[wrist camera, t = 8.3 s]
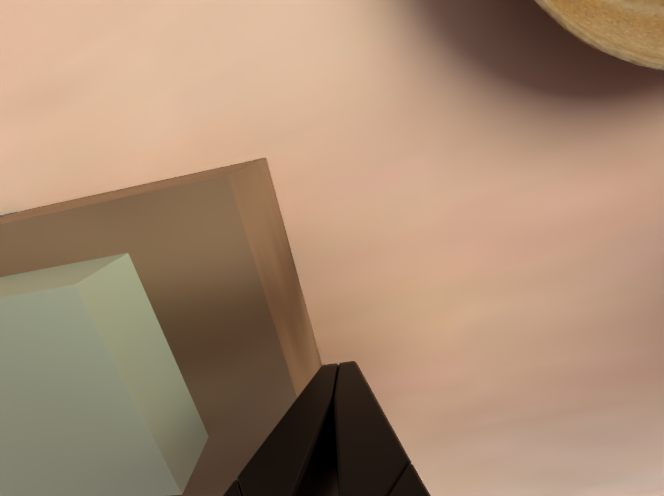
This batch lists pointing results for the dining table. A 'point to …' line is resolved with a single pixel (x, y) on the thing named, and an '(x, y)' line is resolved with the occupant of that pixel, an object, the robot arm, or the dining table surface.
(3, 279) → the tile sage
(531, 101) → the dining table surface
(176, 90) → the dining table surface
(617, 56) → the plant saucer
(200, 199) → the deck
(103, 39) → the dining table surface
